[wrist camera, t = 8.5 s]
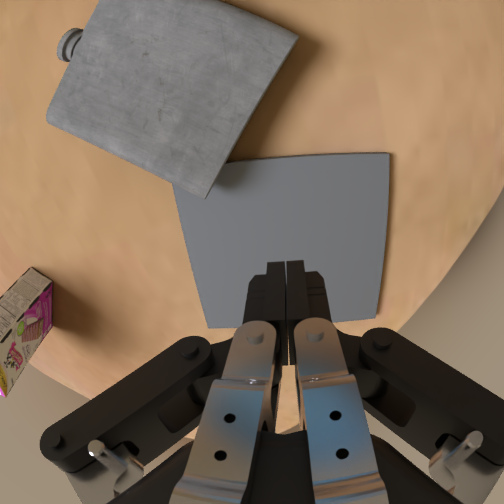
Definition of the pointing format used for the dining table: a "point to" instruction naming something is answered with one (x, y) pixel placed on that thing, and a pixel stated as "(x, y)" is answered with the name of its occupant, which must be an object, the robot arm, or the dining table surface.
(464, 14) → the dining table surface
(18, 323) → the candy bar box
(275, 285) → the robot arm
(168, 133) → the hip flask
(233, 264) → the mat
